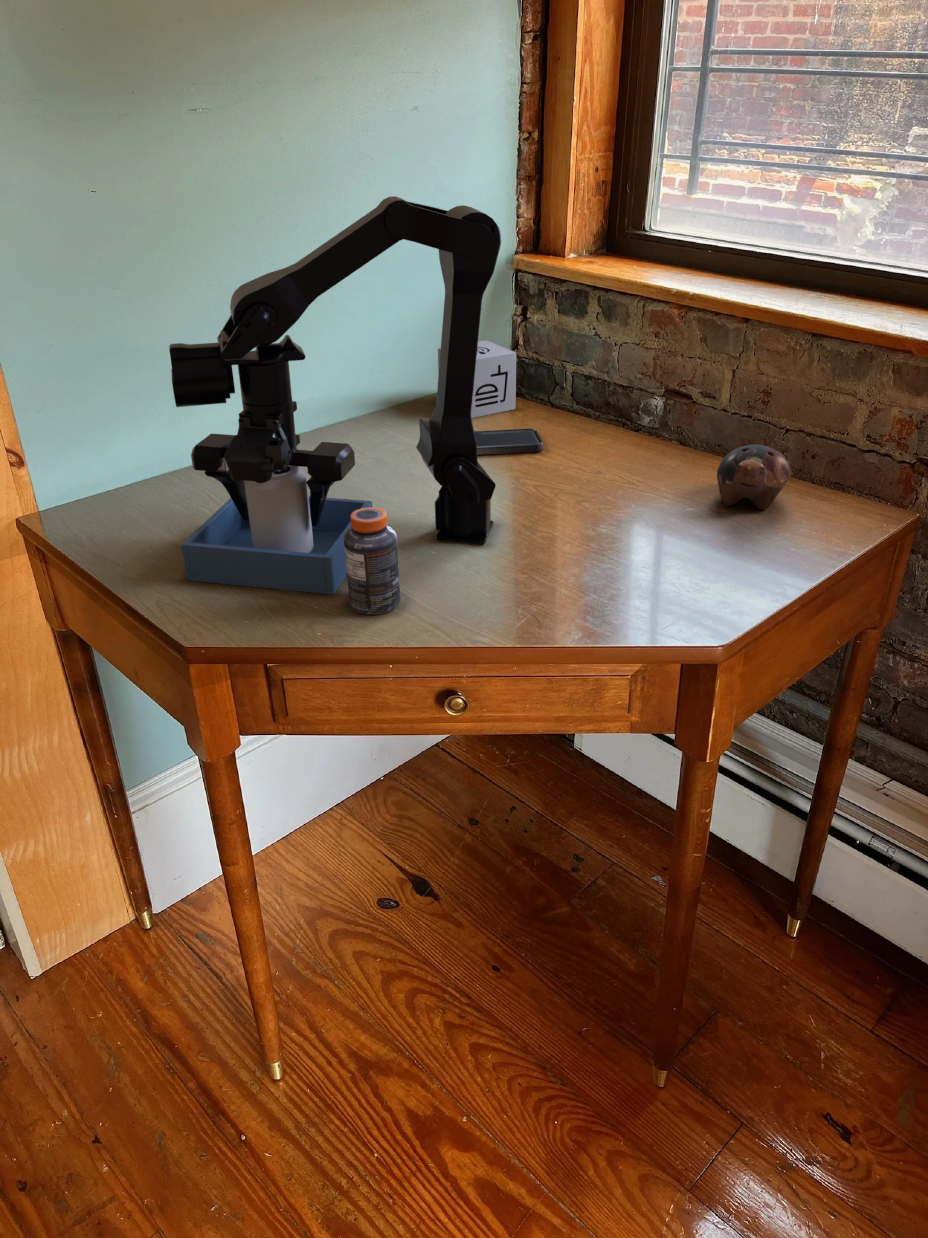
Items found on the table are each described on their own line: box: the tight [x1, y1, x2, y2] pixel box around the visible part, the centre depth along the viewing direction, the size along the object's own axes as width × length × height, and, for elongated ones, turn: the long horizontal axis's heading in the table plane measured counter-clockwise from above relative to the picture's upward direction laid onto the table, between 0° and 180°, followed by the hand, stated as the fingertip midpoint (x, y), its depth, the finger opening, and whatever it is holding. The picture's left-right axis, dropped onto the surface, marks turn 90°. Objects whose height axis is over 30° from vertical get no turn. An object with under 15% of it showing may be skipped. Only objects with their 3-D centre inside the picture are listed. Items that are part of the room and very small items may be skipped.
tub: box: [180, 495, 373, 595], centre depth 120 cm, size 19×17×5 cm
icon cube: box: [437, 339, 517, 419], centre depth 169 cm, size 10×10×10 cm
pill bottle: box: [344, 506, 402, 615], centre depth 107 cm, size 6×6×11 cm
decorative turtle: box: [716, 444, 791, 511], centre depth 132 cm, size 10×15×8 cm, turn 163°
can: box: [244, 465, 314, 553], centre depth 118 cm, size 8×8×12 cm
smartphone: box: [474, 428, 544, 456], centre depth 154 cm, size 8×1×15 cm
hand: (280, 522), depth 119 cm, fingers open, 9 cm apart
